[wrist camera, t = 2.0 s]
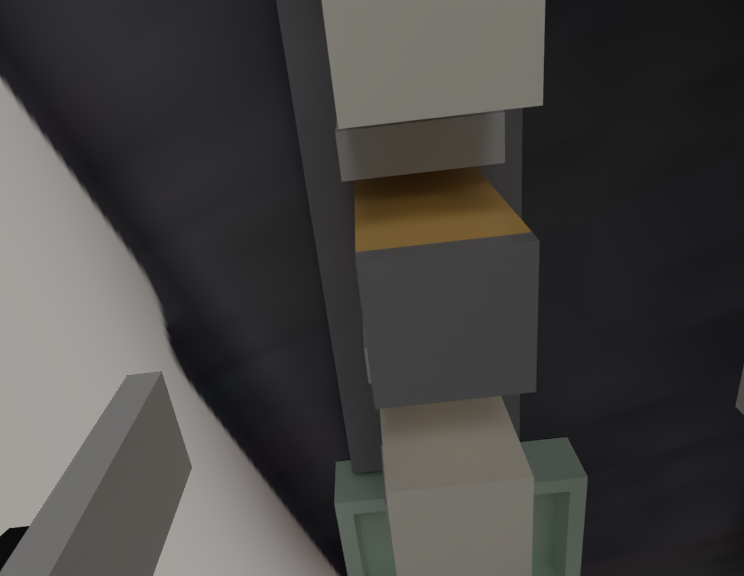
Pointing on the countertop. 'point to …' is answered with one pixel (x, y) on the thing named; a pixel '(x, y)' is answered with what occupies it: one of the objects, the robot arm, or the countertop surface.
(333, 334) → the block
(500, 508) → the block
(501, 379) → the block
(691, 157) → the countertop surface
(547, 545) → the tray
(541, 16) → the block
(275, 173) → the countertop surface
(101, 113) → the countertop surface
